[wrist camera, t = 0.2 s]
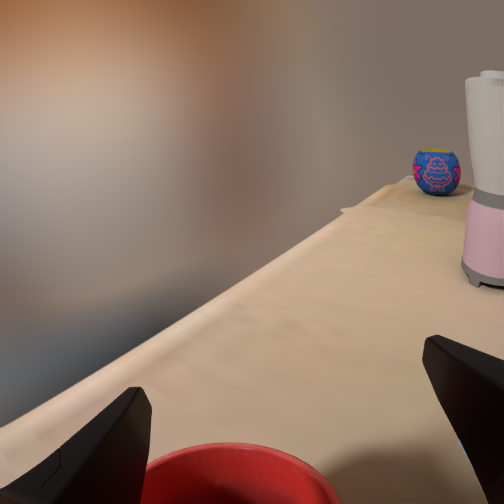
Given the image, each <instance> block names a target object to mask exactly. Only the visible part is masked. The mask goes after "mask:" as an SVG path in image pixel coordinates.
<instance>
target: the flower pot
mask: <svg viewBox="0 0 504 504" xmlns="http://www.w3.org/2000/svg"><path fill="white" fill-rule="evenodd" d="M140 504H342V503H341V501H340V498H339V496H338V495H337V493H336V491H335V489H334V488H333V486H332V485H331V484H330V483H329V482H328V480H327V479H326V478H325V477H324V476H323V475H322V474H320V473H319V472H318V471H317V470H316V469H314V468H313V467H312V466H310V465H309V464H307V463H306V462H304V461H302V460H300V459H299V458H297V457H295V456H292V455H290V454H287V453H285V452H282V451H280V450H276V449H273V448H269V447H265V446H260V445H254V444H247V443H212V444H204V445H198V446H192V447H188V448H184V449H181V450H178V451H174V452H172V453H169V454H167V455H164V456H162V457H160V458H158V459H156V460H154V461H152V462H151V463H149V464H147V466H146V472H145V478H144V484H143V490H142V497H141V503H140Z"/></svg>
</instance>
